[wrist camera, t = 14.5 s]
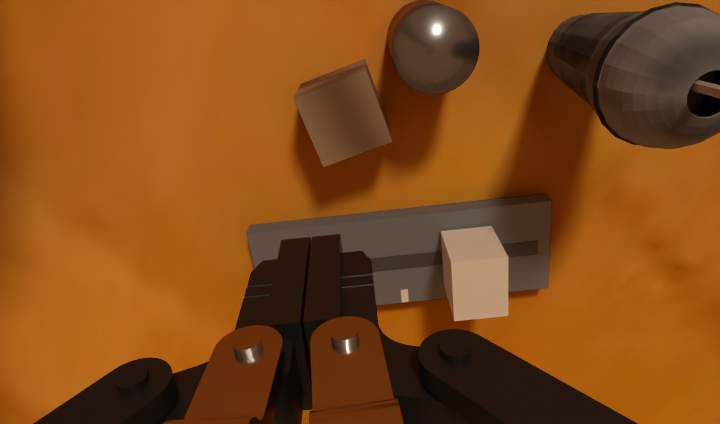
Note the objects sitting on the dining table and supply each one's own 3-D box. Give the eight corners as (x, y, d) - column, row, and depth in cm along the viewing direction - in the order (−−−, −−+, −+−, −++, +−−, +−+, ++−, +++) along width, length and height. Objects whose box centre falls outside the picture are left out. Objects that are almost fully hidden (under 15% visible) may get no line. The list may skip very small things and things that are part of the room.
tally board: (268, 306, 46) (265, 317, 45) (249, 225, 43) (246, 234, 42) (542, 278, 45) (548, 288, 44) (545, 193, 42) (552, 201, 41)
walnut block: (326, 145, 40) (323, 167, 36) (300, 83, 39) (293, 98, 34) (388, 122, 40) (392, 141, 35) (364, 58, 38) (366, 70, 33)
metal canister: (390, 77, 38) (397, 98, 32) (383, 4, 36) (389, 11, 30) (459, 69, 38) (480, 89, 32) (456, -5, 36) (478, 0, 30)
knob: (443, 284, 44) (454, 321, 39) (440, 231, 42) (451, 263, 37) (492, 279, 43) (508, 315, 39) (491, 225, 41) (508, 257, 37)
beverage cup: (583, 117, 40) (776, 241, 21) (506, 66, 38) (644, 152, 20) (652, 30, 37) (938, 87, 19) (573, -29, 35) (802, -30, 17)
